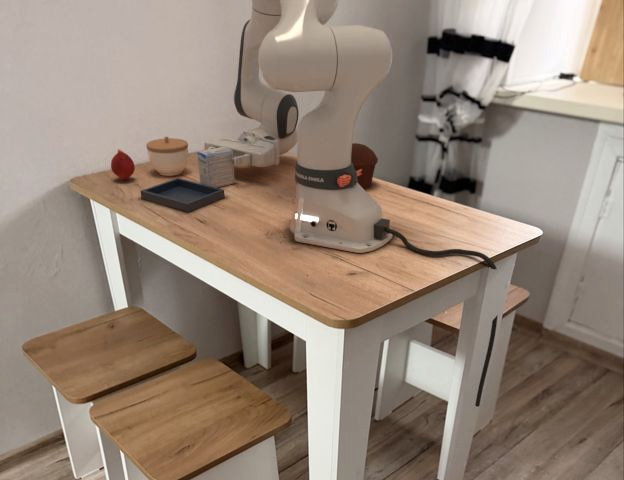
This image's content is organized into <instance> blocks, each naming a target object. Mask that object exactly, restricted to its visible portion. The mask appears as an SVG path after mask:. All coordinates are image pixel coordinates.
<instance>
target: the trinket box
mask: <svg viewBox="0 0 624 480" xmlns="http://www.w3.org/2000/svg"><path fill="white" fill-rule="evenodd" d="M145 146H146V150H147V156H148V159H149V162H150V164H151V166H152V168H153V169H154V170H155V171H156V172H158V174H159V175H160V176H164V177H173V176H178V175H180V174H182V173H183V171H184V170H185V168H186V167H187V164H188V160H189V148H188V147H189V143H188V141H187V140H184V139H182V138H174V137H173V138H171V137H170V138H169V136H164V137H163V138H158V139H153V140H150V141H148V142H147V143H146V145H145Z"/></svg>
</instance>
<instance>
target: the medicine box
mask: <svg viewBox="0 0 624 480" xmlns="http://www.w3.org/2000/svg"><path fill="white" fill-rule="evenodd" d="M232 157H233V151H232V150H230V149H228V148H226V147H219V148H214V149H208V150H205V149H204V150H199V151H197V162H198V163H197V164H198V176H199V183H200V184H204V185H208V186H212V187H215V188H220V187H225V186H229V185H232V184H233V185H234V184H235V183H236V180H235V165H233V164H232V161H231V158H232Z"/></svg>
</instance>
